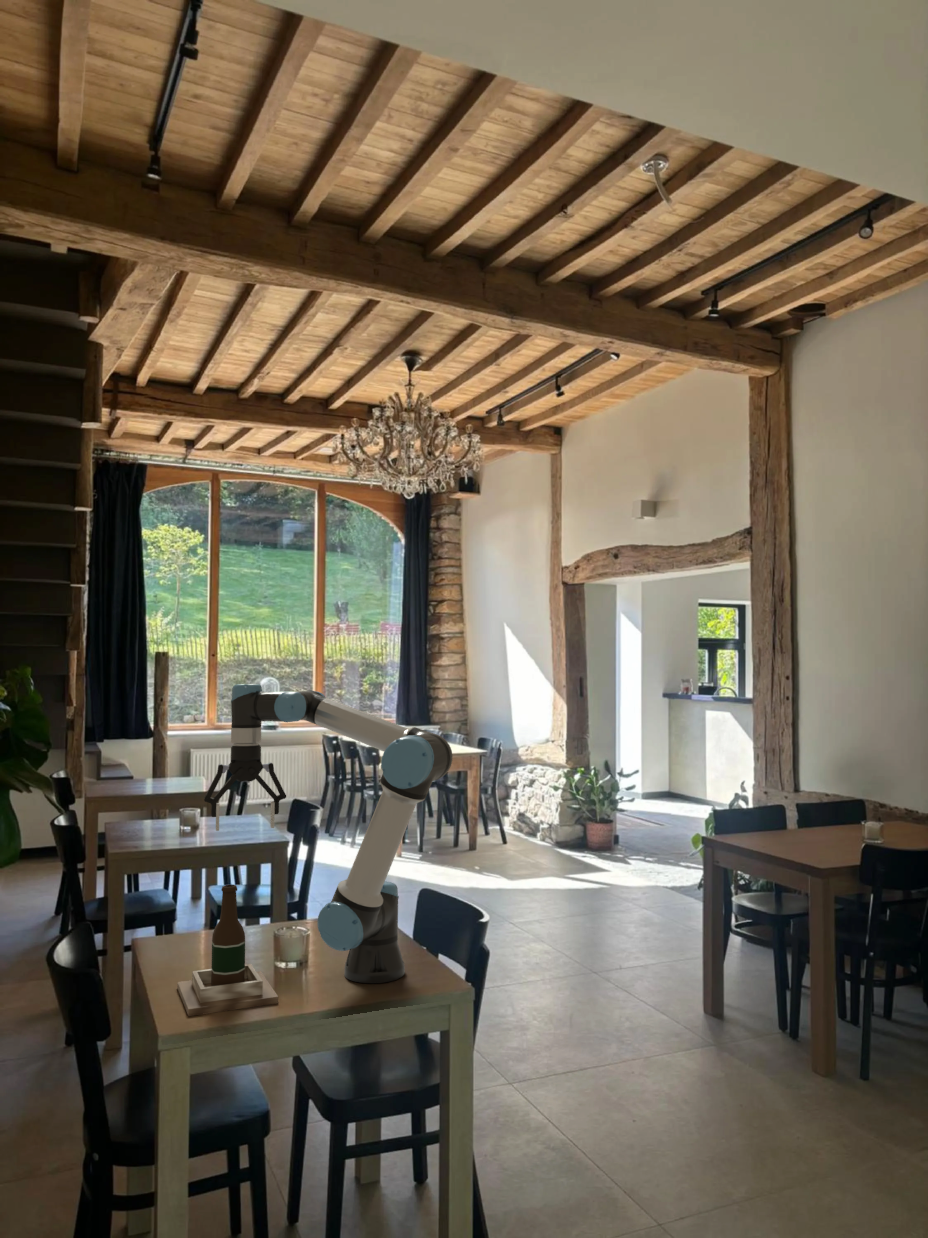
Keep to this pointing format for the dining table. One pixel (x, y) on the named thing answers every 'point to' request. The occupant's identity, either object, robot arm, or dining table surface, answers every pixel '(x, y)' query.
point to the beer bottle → (228, 943)
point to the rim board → (225, 993)
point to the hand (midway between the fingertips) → (245, 829)
